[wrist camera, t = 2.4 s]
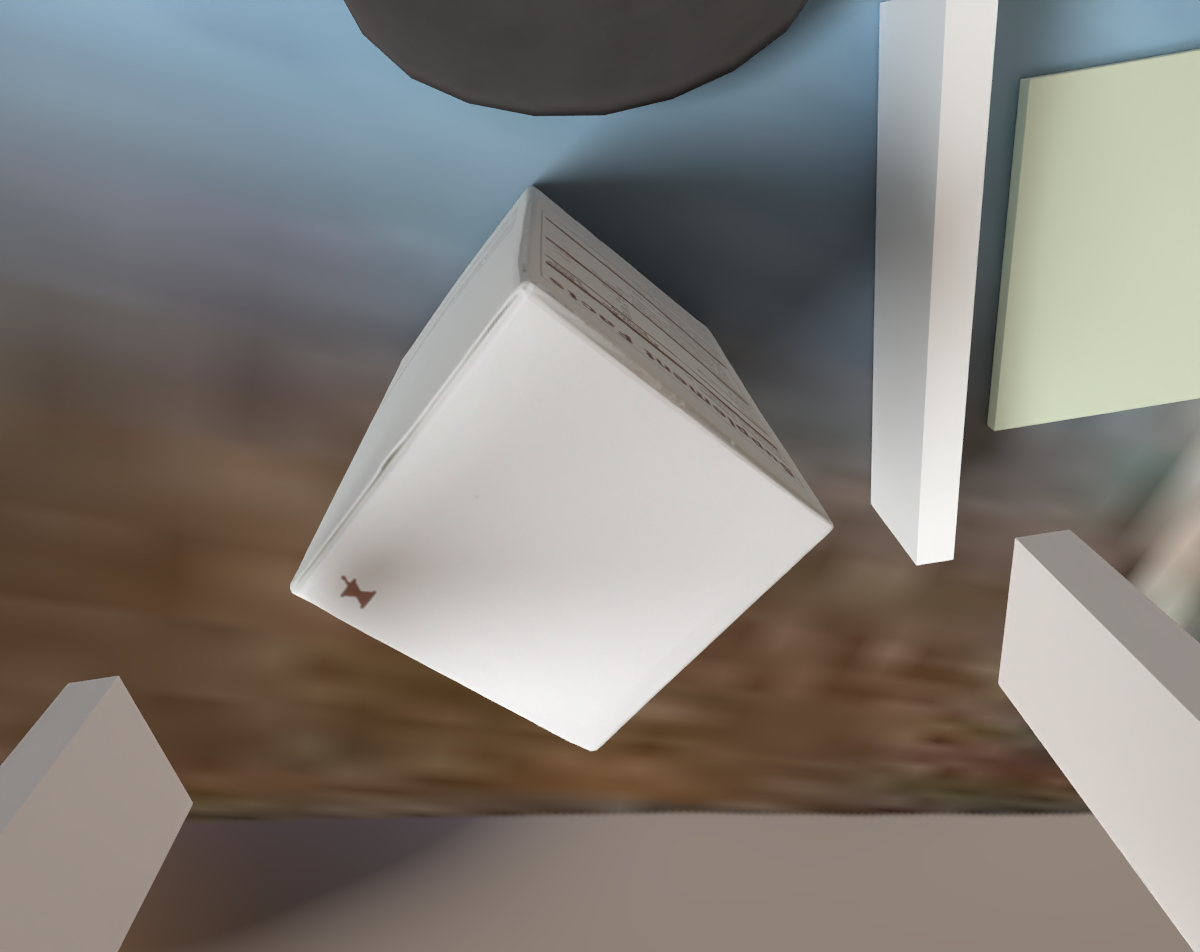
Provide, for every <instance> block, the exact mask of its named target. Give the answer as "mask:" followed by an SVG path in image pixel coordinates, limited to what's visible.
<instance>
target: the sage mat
mask: <svg viewBox="0 0 1200 952" xmlns="http://www.w3.org/2000/svg"><path fill="white" fill-rule="evenodd" d="M1197 398H1200V49H1194V50H1189V51H1183V52H1177V53H1171V54H1165V55H1159V56H1153V57H1148V58H1142V59H1136V60H1130V61H1124V62H1118V63H1113V64H1107V65H1101V66H1095V67H1089V68H1083V69H1078V70H1072V71H1066V72H1060V73H1054V74H1048V75H1042V76H1037V77H1031V78H1025V79H1020V88H1019V99H1018V109H1017V120H1016V130H1015V140H1014V151H1013V161H1012V172H1011V182H1010V192H1009V203H1008V213H1007V224H1006V234H1005V244H1004V255H1003V265H1002V275H1001V286H1000V296H999V307H998V317H997V327H996V338H995V348H994V359H993V369H992V379H991V390H990V400H989V410H988V421H987V426H989V427H990V428H991V429H992V430H994V431H998V430H1004V429H1011V428H1017V427H1023V426H1029V425H1035V424H1042V423H1048V422H1054V421H1060V420H1066V419H1073V418H1079V417H1085V416H1091V415H1097V414H1104V413H1110V412H1116V411H1122V410H1128V409H1135V408H1141V407H1147V406H1153V405H1159V404H1166V403H1172V402H1178V401H1184V400H1190V399H1197Z"/></svg>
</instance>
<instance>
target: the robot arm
mask: <svg viewBox="0 0 1200 952" xmlns="http://www.w3.org/2000/svg"><path fill="white" fill-rule="evenodd" d="M998 684H999V685H1000V687H1001V688H1002V690H1003V691H1004V692H1005V694H1006V695H1007V696H1008V698H1009V699H1010V701H1011V702H1012V703H1013V705H1014V706H1015V707H1016V709H1017V710H1018V711H1019V713H1020V714H1021V716H1022V717H1023V718H1024V720H1025V721H1026V722H1027V724H1028V725H1029V726H1030V728H1031V729H1032V731H1033V732H1034V733H1035V735H1036V736H1037V737H1038V739H1039V740H1040V742H1041V743H1042V744H1043V746H1044V747H1045V748H1046V750H1047V751H1048V752H1049V754H1050V755H1051V757H1052V758H1053V759H1054V761H1055V762H1056V763H1057V765H1058V766H1059V768H1060V769H1061V770H1062V772H1063V773H1064V774H1065V776H1066V777H1067V778H1068V780H1069V781H1070V783H1071V784H1072V785H1073V787H1074V788H1075V789H1076V791H1077V792H1078V794H1079V795H1080V796H1081V798H1082V799H1083V800H1084V802H1085V803H1086V804H1087V806H1088V807H1089V809H1090V810H1091V811H1092V813H1093V814H1094V815H1095V817H1096V818H1097V819H1098V821H1099V822H1100V824H1101V825H1102V826H1103V828H1104V829H1105V830H1106V832H1107V833H1108V835H1109V836H1110V837H1111V839H1112V840H1113V841H1114V843H1115V844H1116V846H1117V847H1118V848H1119V850H1120V851H1121V852H1122V854H1123V855H1124V856H1125V858H1126V859H1127V860H1128V862H1129V863H1130V865H1131V866H1132V867H1133V869H1134V870H1135V872H1136V873H1137V874H1138V876H1139V877H1140V878H1141V880H1142V881H1143V882H1144V884H1145V885H1146V887H1147V888H1148V889H1149V891H1150V892H1151V893H1152V895H1153V896H1154V898H1155V899H1156V900H1157V902H1158V903H1159V904H1160V906H1161V907H1162V908H1163V910H1164V911H1165V913H1166V914H1167V915H1168V917H1169V918H1170V919H1171V921H1172V922H1173V923H1174V925H1175V926H1176V928H1177V929H1178V930H1179V932H1180V933H1181V934H1182V936H1183V937H1184V939H1185V940H1186V941H1187V943H1188V944H1189V945H1190V947H1191V948H1192V949H1193V951H1194V952H1200V643H1199V642H1197V641H1196V640H1195V639H1194V638H1193V637H1192V636H1191V635H1189V634H1188V633H1187V632H1186V631H1185V630H1184V629H1183V628H1181V627H1180V626H1179V625H1178V624H1177V623H1176V622H1175V621H1173V620H1172V619H1171V618H1170V617H1169V616H1168V615H1167V614H1165V613H1164V612H1163V611H1162V610H1161V609H1160V608H1159V607H1157V606H1156V605H1155V604H1154V603H1153V602H1152V601H1151V600H1149V599H1148V598H1147V597H1146V596H1145V595H1144V594H1143V593H1141V592H1140V591H1139V590H1138V589H1137V588H1136V587H1135V586H1133V585H1132V584H1131V583H1130V582H1129V581H1128V580H1127V579H1125V578H1124V577H1123V576H1122V575H1121V574H1120V573H1119V572H1117V571H1116V570H1115V569H1114V568H1113V567H1112V566H1111V565H1109V564H1108V563H1107V562H1106V561H1105V560H1104V559H1103V558H1101V557H1100V556H1099V555H1098V554H1097V553H1096V552H1095V551H1093V550H1092V549H1091V548H1090V547H1089V546H1088V545H1087V544H1085V543H1084V542H1083V541H1082V540H1081V539H1080V538H1079V537H1077V536H1076V535H1075V534H1074V533H1073V532H1072V531H1071V530H1064V531H1057V532H1051V533H1044V534H1038V535H1031V536H1025V537H1018V538H1015V545H1014V553H1013V562H1012V570H1011V579H1010V588H1009V596H1008V605H1007V613H1006V622H1005V630H1004V639H1003V647H1002V656H1001V664H1000V673H999V682H998ZM192 804H193V802H192V800H191V799H190V797H189V795H188V794H187V792H186V790H185V788H184V787H183V785H182V783H181V782H180V780H179V778H178V776H177V775H176V773H175V771H174V770H173V768H172V766H171V764H170V763H169V761H168V759H167V758H166V756H165V754H164V753H163V751H162V749H161V747H160V746H159V744H158V742H157V741H156V739H155V737H154V735H153V734H152V732H151V730H150V729H149V727H148V725H147V723H146V722H145V720H144V718H143V717H142V715H141V713H140V711H139V710H138V708H137V706H136V705H135V703H134V701H133V699H132V698H131V696H130V694H129V693H128V691H127V689H126V687H125V686H124V684H123V682H122V681H121V679H120V677H119V676H114V677H107V678H101V679H94V680H88V681H81V682H74V683H68V684H67V685H66V687H65V688H64V689H63V690H62V692H61V693H60V694H59V695H58V696H57V698H56V699H55V700H54V701H53V703H52V704H51V705H50V706H49V707H48V709H47V710H46V711H45V712H44V714H43V715H42V716H41V717H40V718H39V720H38V721H37V722H36V723H35V725H34V726H33V727H32V728H31V729H30V731H29V732H28V733H27V734H26V736H25V737H24V738H23V739H22V740H21V742H20V743H19V744H18V745H17V747H16V748H15V749H14V750H13V751H12V753H11V754H10V755H9V756H8V758H7V759H6V760H5V761H4V762H3V764H2V765H1V766H0V952H118V950H119V948H120V946H121V944H122V942H123V940H124V938H125V936H126V934H127V932H128V930H129V928H130V926H131V924H132V922H133V920H134V918H135V916H136V914H137V912H138V910H139V909H140V907H141V905H142V903H143V901H144V899H145V897H146V895H147V893H148V891H149V889H150V887H151V885H152V883H153V881H154V879H155V877H156V875H157V873H158V871H159V869H160V867H161V865H162V863H163V861H164V859H165V857H166V856H167V854H168V852H169V850H170V848H171V846H172V844H173V842H174V840H175V838H176V836H177V834H178V832H179V830H180V828H181V826H182V824H183V822H184V820H185V818H186V816H187V814H188V812H189V810H190V808H191V806H192Z"/></svg>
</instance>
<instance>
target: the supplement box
mask: <svg viewBox="0 0 1200 952" xmlns="http://www.w3.org/2000/svg"><path fill="white" fill-rule="evenodd" d="M832 529H833V523H832V522H831V520H830V518H829V517H828V515H827V513H826V512H825V510H824V509H823V507H822V506H821V504H820V502H819V501H818V499H817V498H816V496H815V495H814V493H813V492H812V490H811V489H810V487H809V486H808V484H807V483H806V481H805V479H804V478H803V477H802V475H801V474H800V472H799V471H798V469H797V467H796V466H795V464H794V462H793V461H792V459H791V458H790V456H789V454H788V453H787V451H786V450H785V448H784V447H783V445H782V444H781V442H780V441H779V439H778V438H777V436H776V435H775V433H774V432H773V430H772V429H771V427H770V426H769V424H768V423H767V421H766V420H765V418H764V417H763V415H762V414H761V412H760V411H759V409H758V408H757V406H756V404H755V402H754V401H753V399H752V398H751V396H750V395H749V393H748V392H747V390H746V388H745V387H744V385H743V383H742V382H741V380H740V378H739V377H738V375H737V374H736V372H735V370H734V368H733V367H732V366H731V364H730V363H729V361H728V359H727V358H726V356H725V355H724V353H723V351H722V349H721V348H720V346H719V344H718V343H717V341H716V339H715V338H714V336H713V335H712V334H711V332H710V331H709V329H708V328H707V327H706V326H705V325H703V324H702V323H701V322H699V321H698V320H697V319H695V318H694V317H693V316H692V315H691V314H689V313H688V312H687V311H686V310H684V309H683V308H682V307H681V306H680V305H678V304H677V303H676V302H675V301H673V300H672V299H671V298H670V297H669V296H667V295H666V294H665V293H664V292H663V291H661V290H660V289H659V288H658V287H657V286H655V285H654V284H653V283H652V282H651V281H649V280H648V279H647V278H646V277H645V276H643V275H642V274H641V273H640V272H638V271H637V270H636V269H635V268H634V267H632V266H631V265H630V264H629V263H628V262H626V261H625V260H624V259H623V258H621V257H620V256H619V255H618V254H617V253H615V252H614V251H613V250H612V249H611V248H609V247H608V246H607V245H606V244H604V243H603V242H602V241H601V240H600V239H598V238H597V237H596V236H595V235H593V234H592V233H591V232H590V231H589V230H587V229H586V228H585V227H584V226H582V225H581V224H580V223H579V222H578V221H576V220H575V219H574V218H573V217H572V216H570V215H569V214H568V213H567V212H565V211H564V210H563V209H562V208H561V207H559V206H558V205H557V204H556V203H554V202H553V201H552V200H551V199H550V198H548V197H547V196H546V195H545V194H543V193H542V192H541V191H540V190H538V189H537V188H535V187H534V186H529V187H528V188H527V189H526V190H525V191H524V193H523V194H522V195H521V197H520V198H519V199H518V200H517V202H516V203H515V204H514V206H513V207H512V208H511V210H510V211H509V212H508V213H507V215H506V216H505V217H504V219H503V220H502V221H501V223H500V224H499V225H498V227H497V228H496V229H495V231H494V232H493V233H492V235H491V236H490V237H489V239H488V240H487V241H486V243H485V244H484V245H483V247H482V248H481V249H480V251H479V252H478V253H477V255H476V256H475V257H474V259H473V260H472V261H471V263H470V264H469V265H468V267H467V268H466V269H465V271H464V272H463V273H462V275H461V276H460V277H459V279H458V280H457V282H456V283H455V284H454V286H453V287H452V289H451V290H450V292H449V293H448V294H447V296H446V297H445V299H444V300H443V302H442V303H441V304H440V306H439V307H438V309H437V310H436V312H435V313H434V315H433V316H432V318H431V319H430V320H429V322H428V323H427V325H426V326H425V328H424V329H423V331H422V332H421V334H420V335H419V336H418V338H417V339H416V341H415V342H414V344H413V345H412V347H411V348H410V350H409V351H408V353H407V354H406V355H405V357H404V358H403V359H402V361H401V363H400V366H399V368H398V370H397V372H396V374H395V376H394V378H393V380H392V382H391V384H390V386H389V388H388V390H387V392H386V394H385V396H384V398H383V400H382V402H381V405H380V407H379V409H378V411H377V412H376V414H375V416H374V418H373V420H372V422H371V424H370V426H369V428H368V430H367V432H366V434H365V436H364V438H363V440H362V442H361V444H360V446H359V448H358V450H357V452H356V454H355V456H354V458H353V460H352V462H351V464H350V466H349V468H348V470H347V472H346V474H345V476H344V478H343V480H342V482H341V484H340V486H339V488H338V490H337V492H336V494H335V496H334V498H333V500H332V502H331V504H330V506H329V508H328V510H327V512H326V514H325V516H324V518H323V520H322V522H321V524H320V526H319V528H318V530H317V532H316V534H315V536H314V538H313V540H312V542H311V544H310V546H309V548H308V550H307V552H306V554H305V556H304V559H303V561H302V563H301V565H300V567H299V569H298V571H297V573H296V575H295V576H294V578H293V580H292V582H291V584H290V589H291V592H292V593H293V594H295V595H297V596H299V597H301V598H303V599H305V600H307V601H309V602H311V603H313V604H315V605H316V606H318V607H320V608H321V609H323V610H325V611H327V612H328V613H330V614H332V615H333V616H335V617H337V618H338V619H340V620H342V621H344V622H346V623H348V624H349V625H351V626H353V627H355V628H357V629H359V630H360V631H362V632H364V633H366V634H368V635H370V636H372V637H373V638H375V639H377V640H379V641H381V642H383V643H385V644H387V645H388V646H390V647H392V648H394V649H396V650H398V651H400V652H402V653H404V654H405V655H407V656H409V657H411V658H413V659H415V660H417V661H419V662H421V663H422V664H424V665H426V666H428V667H430V668H432V669H433V670H435V671H437V672H439V673H441V674H443V675H445V676H447V677H449V678H451V679H453V680H455V681H457V682H458V683H460V684H462V685H464V686H466V687H468V688H469V689H471V690H473V691H475V692H477V693H479V694H481V695H482V696H484V697H486V698H488V699H490V700H492V701H494V702H496V703H497V704H499V705H501V706H503V707H505V708H507V709H509V710H511V711H513V712H515V713H516V714H518V715H520V716H522V717H524V718H526V719H528V720H530V721H532V722H534V723H535V724H537V725H538V726H541V727H543V728H545V729H547V730H548V731H550V732H552V733H553V734H555V735H557V736H559V737H561V738H563V739H565V740H567V741H569V742H571V743H573V744H576V745H578V746H580V747H582V748H585V749H587V750H589V751H595V750H597V749H599V748H600V747H601V746H602V745H603V744H604V743H605V742H606V741H607V740H608V739H609V738H610V737H611V736H612V735H614V734H615V733H616V732H617V731H618V730H619V729H620V728H621V727H622V726H623V725H624V724H625V723H626V722H627V721H628V720H629V719H630V718H631V717H632V716H633V715H635V714H636V713H637V712H638V711H639V710H640V709H641V708H642V707H643V706H644V705H645V704H646V703H647V702H648V701H649V700H650V699H651V698H653V697H654V696H655V695H656V694H657V693H658V692H659V691H660V690H661V689H662V688H663V687H664V686H665V685H666V684H667V683H668V682H669V681H670V680H672V679H673V678H674V677H675V676H676V675H677V674H678V673H679V672H680V671H681V670H682V669H683V668H685V667H686V666H687V665H688V664H689V663H690V662H691V661H692V660H693V659H694V658H695V657H696V656H697V655H699V654H700V653H701V652H702V651H703V650H704V649H705V648H706V647H707V646H708V645H709V644H710V643H711V642H712V641H713V640H715V639H716V638H717V637H718V636H719V635H720V634H721V633H722V632H723V631H724V630H725V629H726V628H727V627H728V626H729V625H731V624H732V623H733V622H734V621H735V620H736V619H737V618H738V617H739V616H740V615H741V614H742V613H743V612H744V611H745V610H747V609H748V608H749V607H750V606H751V605H752V604H753V603H754V602H755V601H756V600H757V599H758V598H759V597H760V596H762V595H763V594H764V593H765V592H766V591H767V590H768V589H769V588H770V587H771V586H772V585H773V584H775V583H776V582H777V581H778V580H779V579H780V578H781V577H782V576H783V575H784V574H785V573H786V572H788V571H789V570H790V569H791V568H792V567H793V566H794V565H795V564H796V563H797V562H798V561H799V560H800V559H801V558H802V557H803V556H804V555H805V554H807V553H808V552H809V551H810V550H811V549H812V548H813V547H814V546H815V545H816V544H818V543H819V542H820V541H821V540H822V539H823V538H824V537H825V536H826V535H828V534H829V533H830V532H831V530H832Z"/></svg>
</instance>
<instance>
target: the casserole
mask: <svg viewBox="0 0 1200 952" xmlns="http://www.w3.org/2000/svg"><path fill="white" fill-rule="evenodd" d="M344 1H345V3H346V5H347V7H348V9H349V10H350V12H351V14H352V16H353V18H354V19H355V21H356V23H357V25H358V27H359V28H360V30H361V32H362V34H363V35H364V36H365V37H367V38H368V39H369V40H370V41H371V42H372V43H373V44H374V45H375V46H377V47H378V48H379V49H380V50H381V51H382V52H383V53H384V54H385V55H386V56H388V57H389V58H390V59H391V60H392V61H393V62H394V63H395V64H396V65H397V66H399V67H400V68H401V69H402V70H403V71H404V72H405V73H406V74H407V75H409V76H410V77H411V78H412V79H415V80H417V81H419V82H421V83H424V84H426V85H428V86H431V87H433V88H435V89H437V90H440V91H442V92H444V93H447V94H449V95H451V96H453V97H456V98H458V99H460V100H462V101H465V102H467V103H470V104H475V105H480V106H486V107H491V108H496V109H501V110H506V111H512V112H517V113H522V114H527V115H532V116H576V115H607V114H611V113H615V112H620V111H624V110H628V109H632V108H637V107H641V106H645V105H649V104H653V103H658V102H662V101H666V100H670V99H673V98H676V97H678V96H680V95H682V94H684V93H686V92H689V91H691V90H693V89H695V88H697V87H699V86H702V85H704V84H706V83H708V82H710V81H713V80H715V79H717V78H719V77H721V76H723V75H726V74H728V73H730V72H732V71H734V70H736V69H737V68H738V67H740V66H741V65H742V64H744V63H745V62H746V61H748V60H749V59H750V58H752V57H753V56H754V55H756V54H757V53H758V52H760V51H761V50H762V49H764V48H765V47H766V46H768V45H769V44H770V43H772V42H773V41H774V40H776V39H777V38H778V37H780V36H781V35H782V34H783V33H785V32H786V31H787V29H788V28H789V26H790V25H791V24H792V22H793V21H794V19H795V18H796V17H797V15H798V14H799V12H800V11H801V10H802V8H803V7H804V5H805V4H806V3H807V1H808V0H344Z"/></svg>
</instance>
